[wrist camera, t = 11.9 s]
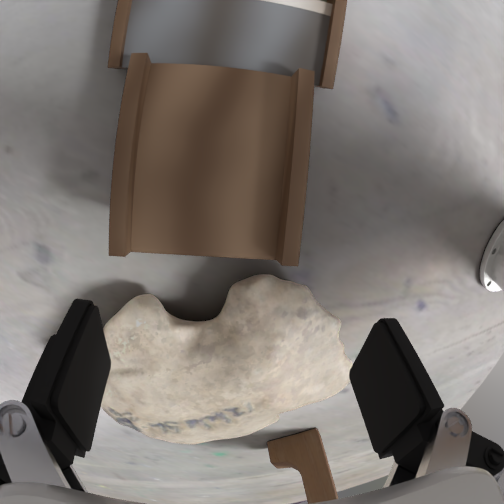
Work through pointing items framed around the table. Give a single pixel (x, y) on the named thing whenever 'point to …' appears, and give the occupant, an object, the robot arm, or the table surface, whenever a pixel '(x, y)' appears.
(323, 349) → the rock
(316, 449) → the wooden block
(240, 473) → the table surface
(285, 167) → the lane
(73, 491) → the robot arm
